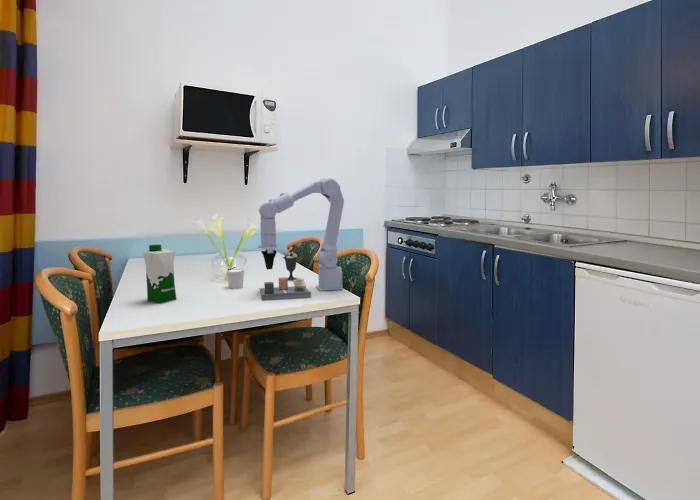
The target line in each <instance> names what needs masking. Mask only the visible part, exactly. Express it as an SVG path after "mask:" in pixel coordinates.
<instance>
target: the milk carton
mask: <svg viewBox="0 0 700 500" xmlns="http://www.w3.org/2000/svg"><path fill="white" fill-rule="evenodd" d="M148 248H149V249H148V250H146V251H143V252H142V253H143V258H144V264H145V275H146V277H145V278H146V293H147V295H146V296H147V297H146V298H147V302H148V301H149V302H151V301H152V302H153V303H156V302H157V304H163V303H166V302H170V301H174V300H177V294H176V286H175V270H174V269H175V267H174V261H175V253H176V251H175V250H171V249H162V244H149V245H148Z"/></svg>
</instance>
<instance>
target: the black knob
mask: <svg viewBox="0 0 700 500" xmlns="http://www.w3.org/2000/svg"><path fill="white" fill-rule="evenodd" d="M263 283H264V287H263V288H264V289H265V294H274V287H275V286H274V285H275V284H274V282H273V281H267V282H266V281H265V282H263Z"/></svg>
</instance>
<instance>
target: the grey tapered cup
mask: <svg viewBox="0 0 700 500" xmlns="http://www.w3.org/2000/svg"><path fill="white" fill-rule="evenodd" d="M226 275H227V284H228V288H229V289H233V290H234V289H235V290H236V289H237V290H238V289H242V288H243V287H244V277H245V269H239V268H235V269H234V268H233V269H228V270H226Z"/></svg>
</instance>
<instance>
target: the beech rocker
mask: <svg viewBox="0 0 700 500" xmlns="http://www.w3.org/2000/svg"><path fill="white" fill-rule="evenodd" d="M292 281H293V286H295V288H307V285H306V282H305V279H303V278H300V279H296V280H292Z"/></svg>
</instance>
